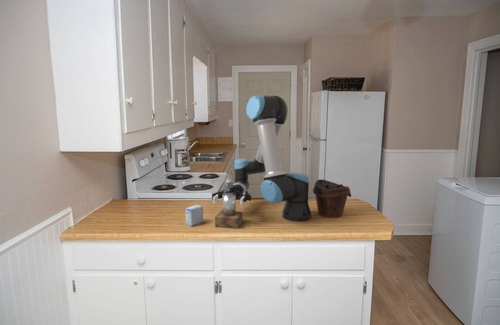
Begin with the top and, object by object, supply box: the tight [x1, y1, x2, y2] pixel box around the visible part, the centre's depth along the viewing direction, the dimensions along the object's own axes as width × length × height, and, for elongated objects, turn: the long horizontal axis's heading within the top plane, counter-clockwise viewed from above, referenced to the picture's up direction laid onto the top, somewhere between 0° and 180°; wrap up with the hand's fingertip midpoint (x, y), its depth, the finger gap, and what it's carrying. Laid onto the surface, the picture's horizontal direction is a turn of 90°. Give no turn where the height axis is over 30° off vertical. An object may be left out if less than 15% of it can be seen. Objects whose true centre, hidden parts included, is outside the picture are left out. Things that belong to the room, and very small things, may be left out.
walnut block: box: [214, 209, 243, 229], centre depth 171 cm, size 11×11×5 cm
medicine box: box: [184, 204, 204, 227], centre depth 171 cm, size 8×4×9 cm, turn 141°
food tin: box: [222, 193, 237, 216], centre depth 170 cm, size 7×7×10 cm
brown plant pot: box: [312, 179, 352, 218], centre depth 185 cm, size 18×20×18 cm
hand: (227, 201), depth 166 cm, fingers open, 13 cm apart
